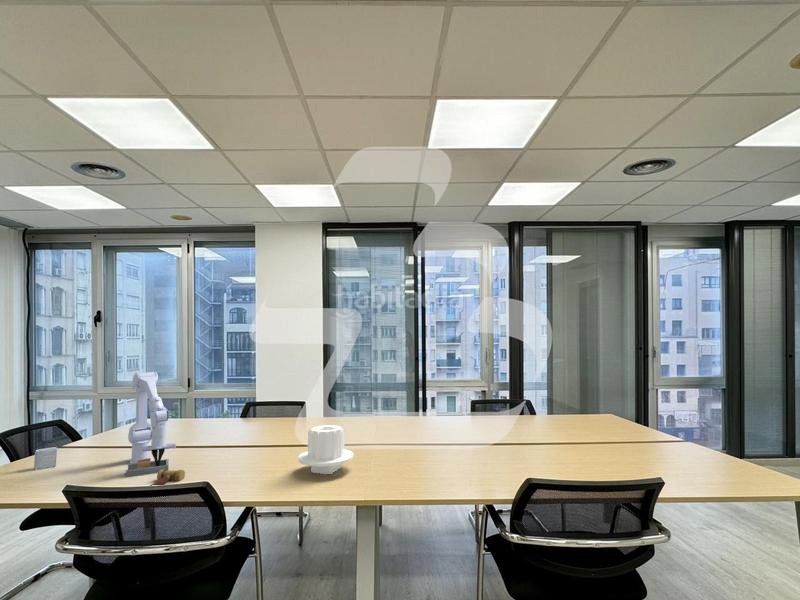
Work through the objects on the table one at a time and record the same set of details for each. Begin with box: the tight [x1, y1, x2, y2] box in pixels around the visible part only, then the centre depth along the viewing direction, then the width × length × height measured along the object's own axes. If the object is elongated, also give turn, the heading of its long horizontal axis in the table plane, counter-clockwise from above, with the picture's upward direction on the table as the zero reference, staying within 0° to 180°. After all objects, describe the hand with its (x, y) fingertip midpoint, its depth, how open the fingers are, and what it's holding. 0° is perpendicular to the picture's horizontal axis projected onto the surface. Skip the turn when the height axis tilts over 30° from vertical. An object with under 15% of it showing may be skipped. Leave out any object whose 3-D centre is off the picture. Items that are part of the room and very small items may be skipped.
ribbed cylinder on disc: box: [297, 424, 354, 475], centre depth 193 cm, size 25×25×19 cm
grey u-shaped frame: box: [125, 458, 170, 478], centre depth 195 cm, size 12×16×2 cm
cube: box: [137, 457, 152, 469], centre depth 194 cm, size 5×5×5 cm
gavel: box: [149, 469, 186, 486], centre depth 173 cm, size 21×5×10 cm
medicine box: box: [33, 446, 58, 470], centre depth 200 cm, size 8×4×9 cm, turn 134°
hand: (157, 465), depth 196 cm, fingers closed
